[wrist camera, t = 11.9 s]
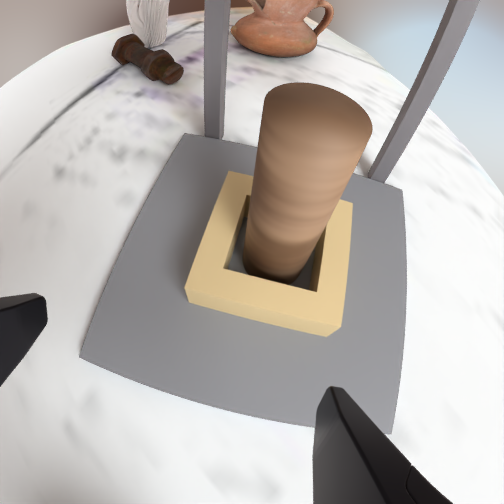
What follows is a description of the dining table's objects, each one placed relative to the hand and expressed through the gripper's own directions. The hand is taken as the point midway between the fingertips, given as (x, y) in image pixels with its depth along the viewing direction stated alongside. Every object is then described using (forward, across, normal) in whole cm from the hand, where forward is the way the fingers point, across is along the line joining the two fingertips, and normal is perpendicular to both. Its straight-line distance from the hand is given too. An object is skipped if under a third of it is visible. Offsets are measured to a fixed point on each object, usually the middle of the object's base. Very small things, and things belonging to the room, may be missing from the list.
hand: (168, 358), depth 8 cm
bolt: (+36, +22, -16) cm, 45 cm away
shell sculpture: (+44, +27, -24) cm, 56 cm away
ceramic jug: (+47, +4, -27) cm, 54 cm away
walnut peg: (+16, -3, +2) cm, 17 cm away
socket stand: (+19, -3, 0) cm, 19 cm away
